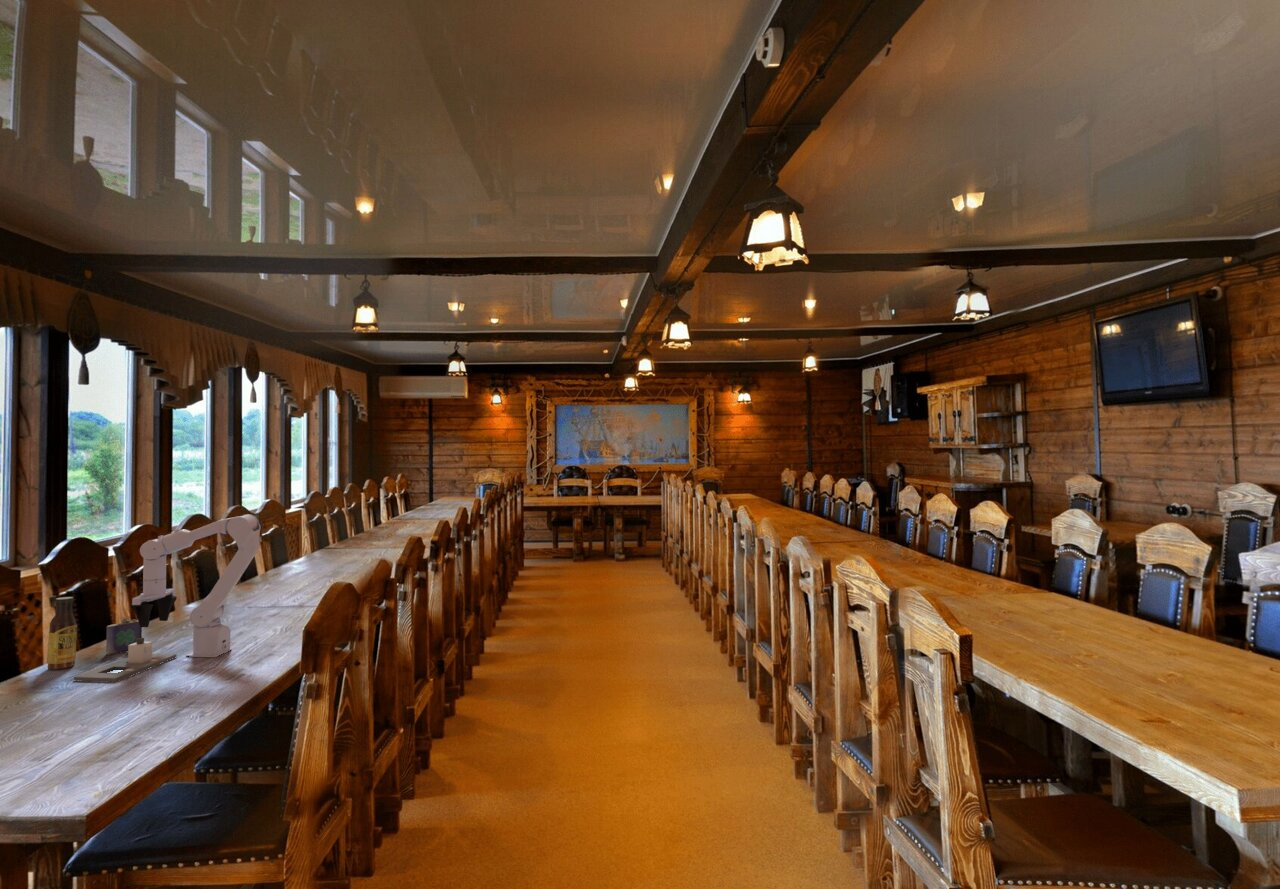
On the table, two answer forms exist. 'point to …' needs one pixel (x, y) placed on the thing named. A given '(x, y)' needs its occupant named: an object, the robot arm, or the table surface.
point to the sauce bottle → (62, 636)
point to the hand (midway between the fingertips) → (154, 623)
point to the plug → (140, 651)
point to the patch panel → (122, 664)
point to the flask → (122, 635)
